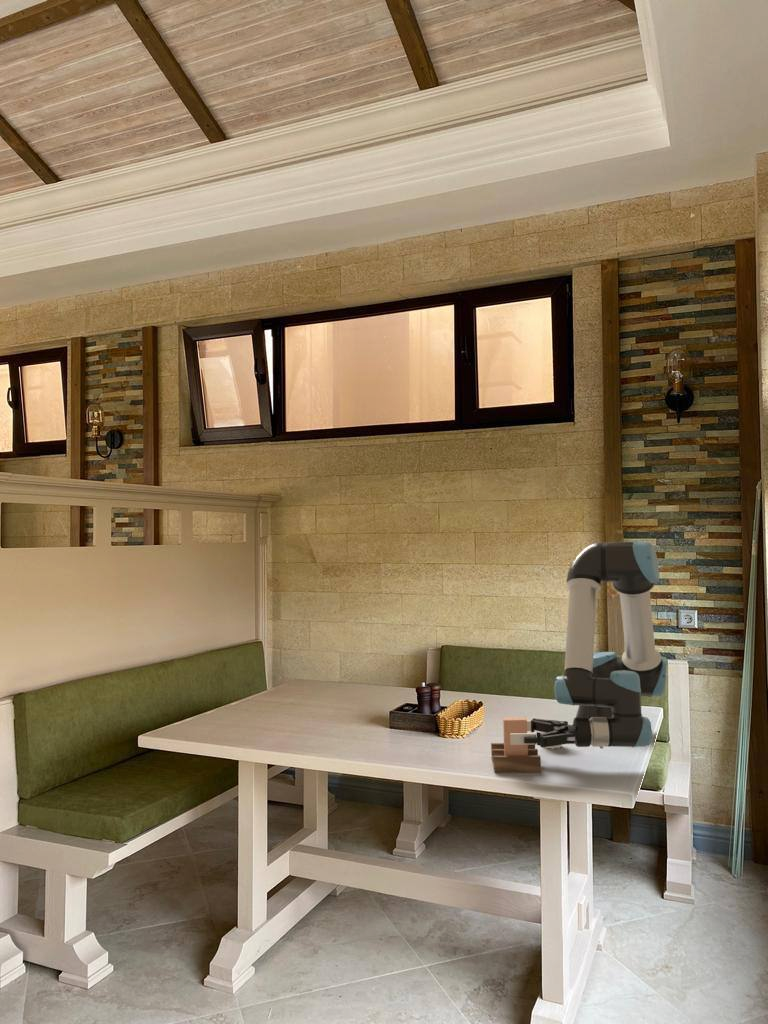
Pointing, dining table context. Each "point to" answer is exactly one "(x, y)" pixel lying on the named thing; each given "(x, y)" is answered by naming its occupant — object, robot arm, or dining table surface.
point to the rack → (515, 760)
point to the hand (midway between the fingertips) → (508, 732)
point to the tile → (514, 727)
